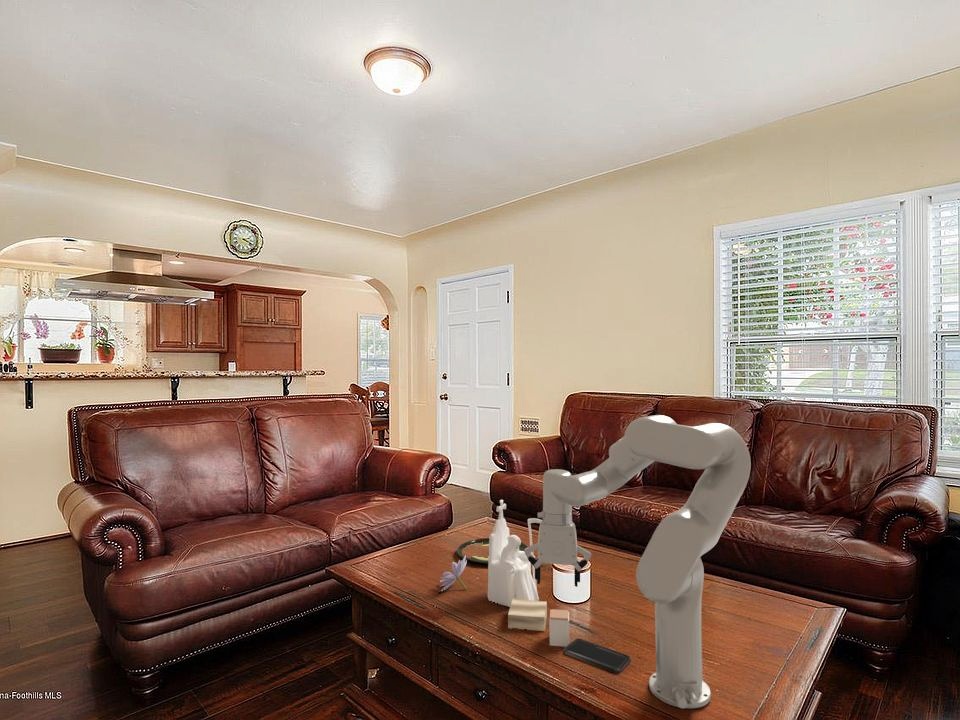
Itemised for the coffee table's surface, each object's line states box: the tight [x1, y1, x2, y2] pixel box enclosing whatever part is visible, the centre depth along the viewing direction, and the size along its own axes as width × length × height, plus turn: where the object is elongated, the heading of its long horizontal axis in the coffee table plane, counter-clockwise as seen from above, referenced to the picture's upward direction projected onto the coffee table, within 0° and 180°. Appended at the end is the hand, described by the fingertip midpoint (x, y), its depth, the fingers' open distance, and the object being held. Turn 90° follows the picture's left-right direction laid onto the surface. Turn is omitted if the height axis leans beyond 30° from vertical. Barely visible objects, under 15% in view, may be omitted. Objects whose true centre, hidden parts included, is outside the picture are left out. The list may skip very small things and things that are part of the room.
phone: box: [563, 638, 632, 674], centre depth 129 cm, size 8×1×15 cm
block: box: [507, 599, 548, 632], centre depth 148 cm, size 10×10×4 cm
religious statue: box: [487, 499, 543, 608], centre depth 163 cm, size 17×14×30 cm
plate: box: [456, 537, 529, 565], centre depth 202 cm, size 28×28×2 cm
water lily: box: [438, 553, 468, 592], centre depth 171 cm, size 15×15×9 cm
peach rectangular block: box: [548, 608, 570, 648], centre depth 137 cm, size 5×5×7 cm
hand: (557, 583), depth 137 cm, fingers open, 9 cm apart
